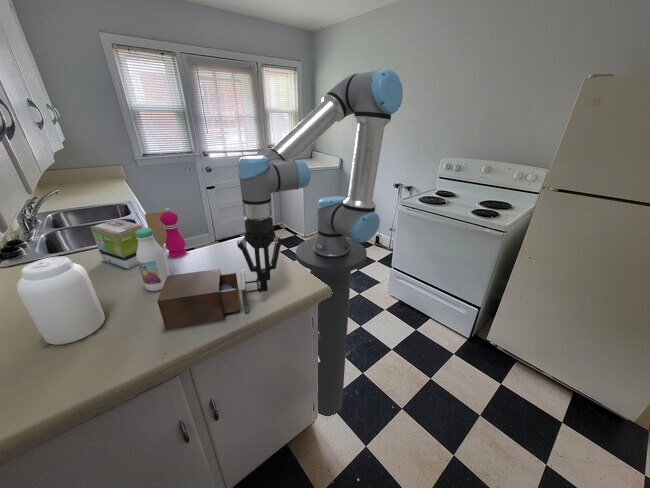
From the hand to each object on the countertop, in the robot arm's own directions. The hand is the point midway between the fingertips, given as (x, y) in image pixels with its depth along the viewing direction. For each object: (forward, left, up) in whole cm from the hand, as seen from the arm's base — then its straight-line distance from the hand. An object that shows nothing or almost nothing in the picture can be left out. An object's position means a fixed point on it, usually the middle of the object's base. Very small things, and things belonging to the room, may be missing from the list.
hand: (264, 288), depth 83 cm
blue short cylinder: (+12, 0, -2) cm, 12 cm away
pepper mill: (+32, -41, -4) cm, 52 cm away
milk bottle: (+34, -18, -4) cm, 38 cm away
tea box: (+50, -41, -4) cm, 65 cm away
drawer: (+10, 0, -3) cm, 10 cm away
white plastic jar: (+50, -1, -4) cm, 50 cm away
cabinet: (+20, 0, -4) cm, 20 cm away
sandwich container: (+42, -61, -4) cm, 74 cm away
